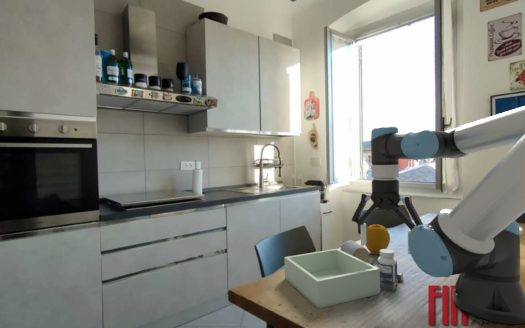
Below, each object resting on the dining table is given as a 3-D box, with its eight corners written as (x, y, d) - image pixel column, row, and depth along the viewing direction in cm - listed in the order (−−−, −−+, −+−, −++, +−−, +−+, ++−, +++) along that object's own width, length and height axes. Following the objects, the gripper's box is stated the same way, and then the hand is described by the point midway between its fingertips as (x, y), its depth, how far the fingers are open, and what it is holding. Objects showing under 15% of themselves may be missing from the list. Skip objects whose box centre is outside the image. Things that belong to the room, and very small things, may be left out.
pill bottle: (387, 278, 90) (387, 247, 90) (401, 284, 85) (400, 252, 85) (374, 281, 88) (373, 249, 88) (387, 288, 83) (386, 254, 83)
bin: (380, 293, 80) (379, 268, 80) (318, 308, 73) (317, 281, 73) (337, 268, 99) (337, 248, 99) (285, 278, 92) (284, 257, 92)
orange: (392, 258, 107) (391, 227, 107) (365, 257, 110) (364, 226, 109) (388, 250, 116) (388, 221, 116) (363, 249, 119) (362, 220, 119)
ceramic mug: (353, 269, 98) (353, 247, 98) (339, 261, 106) (339, 240, 105) (379, 265, 101) (378, 243, 101) (363, 258, 109) (363, 238, 109)
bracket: (383, 274, 93) (382, 264, 93) (403, 279, 89) (402, 268, 89) (371, 286, 85) (371, 275, 84) (393, 292, 81) (392, 280, 81)
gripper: (434, 179, 81) (435, 253, 82) (350, 176, 97) (351, 238, 98) (430, 181, 75) (430, 261, 76) (340, 178, 91) (341, 244, 92)
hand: (386, 248), depth 87 cm, fingers open, 13 cm apart
